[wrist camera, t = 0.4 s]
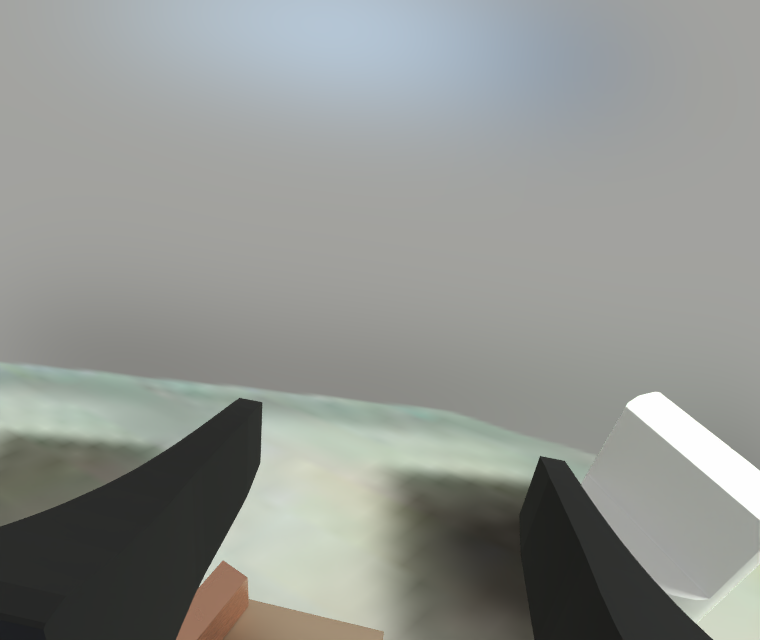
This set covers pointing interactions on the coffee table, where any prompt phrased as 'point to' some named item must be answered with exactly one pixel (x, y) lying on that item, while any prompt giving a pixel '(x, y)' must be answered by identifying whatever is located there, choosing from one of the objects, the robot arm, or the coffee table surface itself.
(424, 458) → the coffee table surface
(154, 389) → the coffee table surface
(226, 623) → the flange plate
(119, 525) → the robot arm
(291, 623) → the base board
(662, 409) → the cylinder with rectangular tab
